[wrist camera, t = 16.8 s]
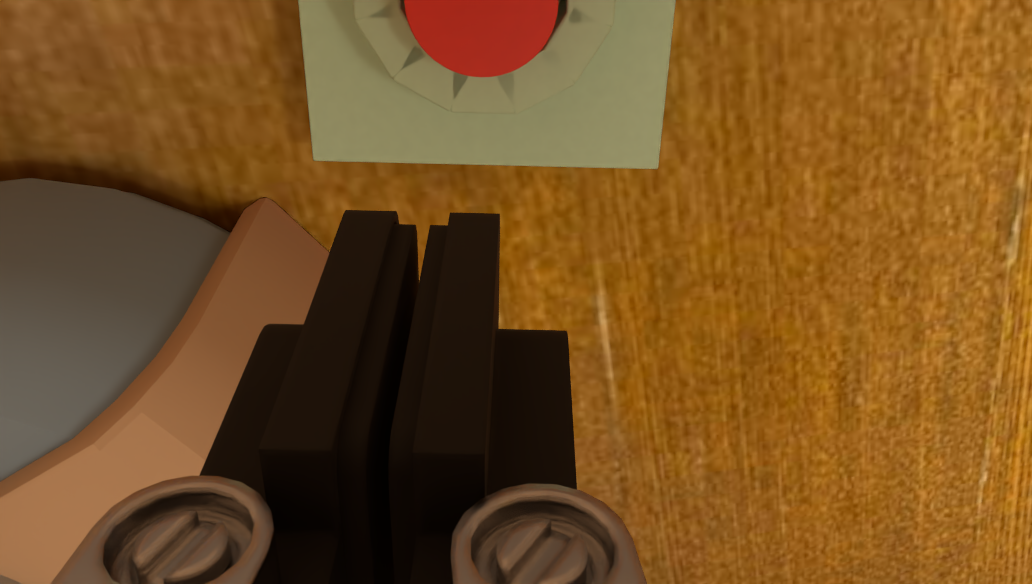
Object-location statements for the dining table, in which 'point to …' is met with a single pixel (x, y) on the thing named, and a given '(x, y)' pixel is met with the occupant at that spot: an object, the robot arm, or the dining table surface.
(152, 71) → the dining table surface
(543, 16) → the red button
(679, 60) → the dining table surface
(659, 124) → the button block
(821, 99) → the dining table surface
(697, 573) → the dining table surface
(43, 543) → the alarm clock
